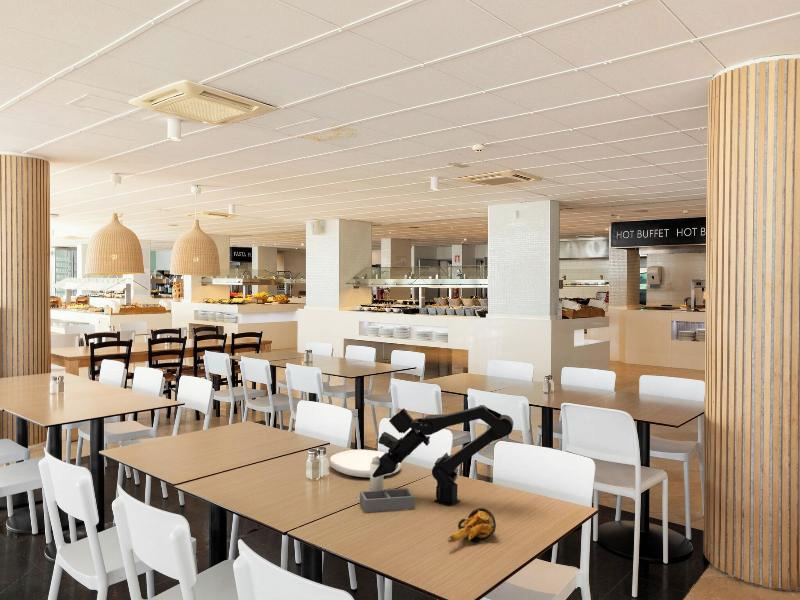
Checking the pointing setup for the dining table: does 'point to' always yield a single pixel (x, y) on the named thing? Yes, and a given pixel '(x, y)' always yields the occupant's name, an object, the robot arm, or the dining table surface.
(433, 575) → the dining table surface
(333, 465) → the plate
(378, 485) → the salt mill
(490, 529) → the fried shrimp in bowl
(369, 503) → the condiment caddy
